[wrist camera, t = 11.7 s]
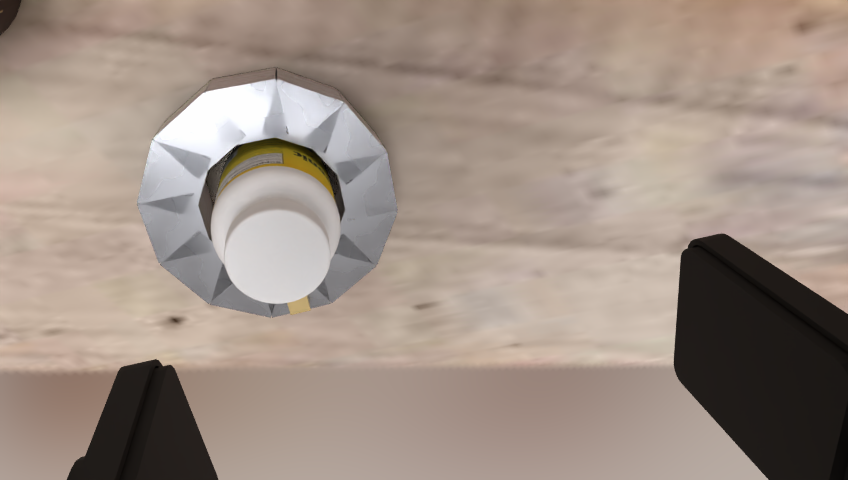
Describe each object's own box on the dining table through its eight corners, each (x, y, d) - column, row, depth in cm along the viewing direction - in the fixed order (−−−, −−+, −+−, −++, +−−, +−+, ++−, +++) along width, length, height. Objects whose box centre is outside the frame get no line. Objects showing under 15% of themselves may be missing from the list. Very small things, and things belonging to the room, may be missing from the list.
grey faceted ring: (120, 95, 29) (97, 114, 25) (361, 51, 30) (373, 63, 27) (194, 303, 34) (184, 346, 30) (398, 256, 35) (413, 291, 32)
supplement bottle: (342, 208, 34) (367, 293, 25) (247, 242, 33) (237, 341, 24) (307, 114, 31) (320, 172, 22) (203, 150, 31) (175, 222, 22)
